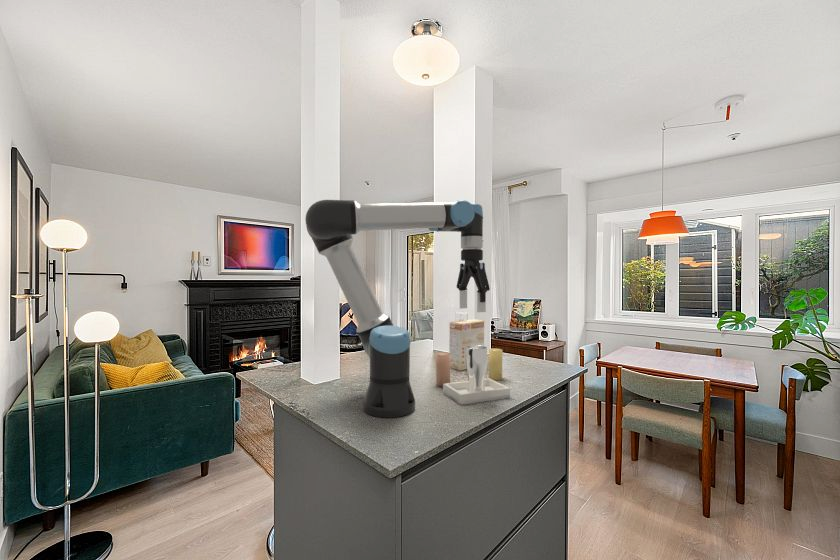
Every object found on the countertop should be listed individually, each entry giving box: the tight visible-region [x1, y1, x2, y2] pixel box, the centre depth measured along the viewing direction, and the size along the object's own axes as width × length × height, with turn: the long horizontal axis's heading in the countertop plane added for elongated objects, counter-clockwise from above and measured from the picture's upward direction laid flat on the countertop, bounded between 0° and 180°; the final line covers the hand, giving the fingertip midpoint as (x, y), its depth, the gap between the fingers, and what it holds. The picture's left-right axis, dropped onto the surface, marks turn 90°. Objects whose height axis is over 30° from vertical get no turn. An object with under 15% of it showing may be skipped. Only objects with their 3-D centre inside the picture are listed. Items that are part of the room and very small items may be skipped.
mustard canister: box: [488, 347, 504, 381], centre depth 141 cm, size 5×5×11 cm
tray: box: [442, 377, 511, 405], centre depth 122 cm, size 18×12×3 cm, turn 113°
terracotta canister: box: [435, 351, 451, 388], centre depth 132 cm, size 5×5×11 cm
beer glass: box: [466, 345, 489, 393], centre depth 121 cm, size 7×7×15 cm
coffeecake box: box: [448, 318, 485, 371], centre depth 159 cm, size 15×7×20 cm, turn 130°
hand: (471, 310), depth 130 cm, fingers open, 13 cm apart
